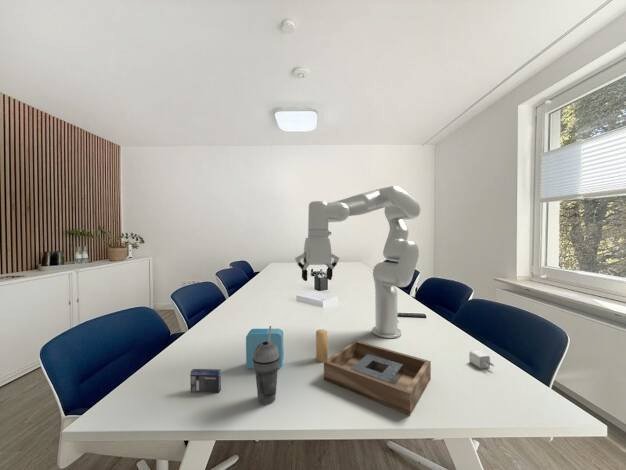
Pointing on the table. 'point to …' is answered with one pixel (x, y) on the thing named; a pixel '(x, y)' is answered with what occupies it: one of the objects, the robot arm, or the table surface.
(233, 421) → the table surface
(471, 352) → the usb wall charger
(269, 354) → the beverage cup
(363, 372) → the bore plate
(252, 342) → the data package
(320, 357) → the peg
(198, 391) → the mini dv tape
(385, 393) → the open box
